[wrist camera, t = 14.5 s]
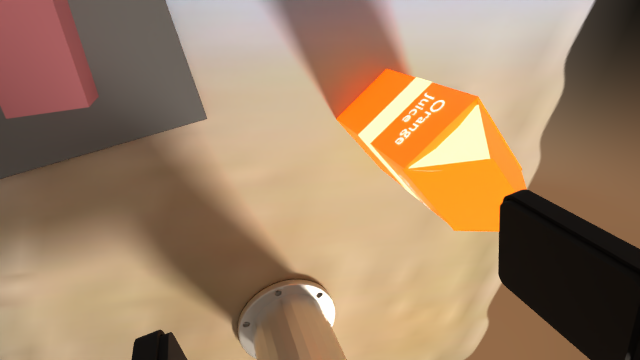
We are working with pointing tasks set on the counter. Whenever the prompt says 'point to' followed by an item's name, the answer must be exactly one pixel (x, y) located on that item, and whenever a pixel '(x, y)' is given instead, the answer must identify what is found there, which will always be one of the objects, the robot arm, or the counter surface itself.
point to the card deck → (41, 59)
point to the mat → (111, 88)
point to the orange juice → (436, 147)
